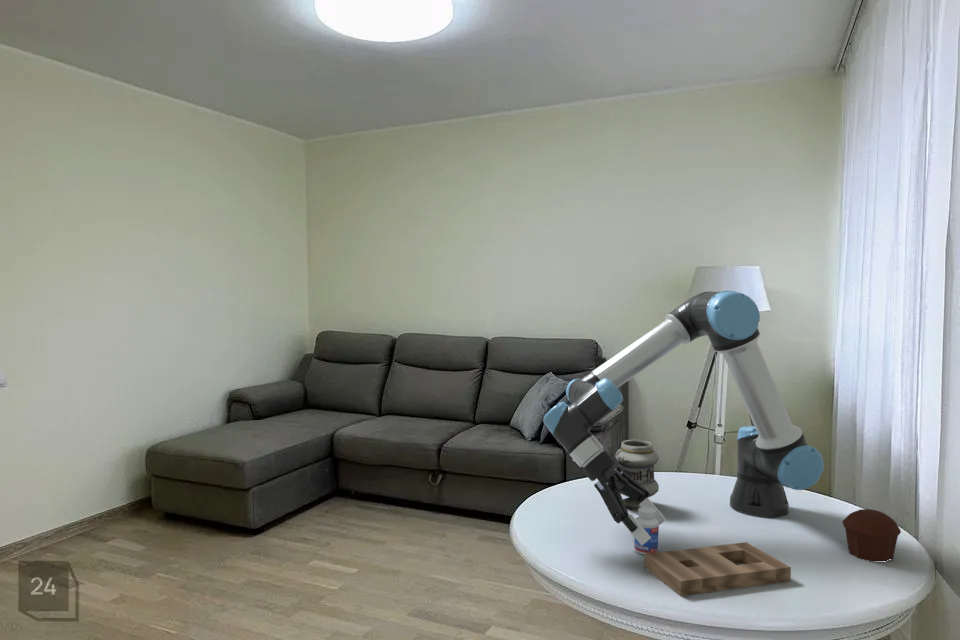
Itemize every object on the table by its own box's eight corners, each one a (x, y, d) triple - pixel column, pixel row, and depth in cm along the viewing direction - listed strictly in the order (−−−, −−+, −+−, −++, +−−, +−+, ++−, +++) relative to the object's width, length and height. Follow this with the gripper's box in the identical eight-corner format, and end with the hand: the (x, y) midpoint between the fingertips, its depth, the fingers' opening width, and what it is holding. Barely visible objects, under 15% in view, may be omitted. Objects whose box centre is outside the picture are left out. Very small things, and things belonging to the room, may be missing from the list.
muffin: (866, 566, 142) (868, 521, 142) (830, 547, 153) (831, 505, 153) (912, 562, 145) (914, 518, 144) (873, 543, 155) (874, 502, 155)
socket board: (746, 555, 148) (746, 542, 148) (790, 581, 135) (790, 567, 135) (644, 567, 141) (644, 553, 141) (680, 596, 128) (680, 581, 128)
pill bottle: (654, 557, 147) (654, 515, 146) (631, 552, 149) (631, 510, 149) (661, 549, 151) (661, 508, 151) (638, 544, 154) (639, 504, 154)
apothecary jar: (608, 507, 181) (609, 444, 180) (622, 496, 191) (623, 436, 191) (651, 515, 175) (651, 449, 174) (663, 503, 185) (664, 441, 184)
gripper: (599, 457, 168) (656, 524, 161) (562, 481, 147) (626, 559, 140) (619, 439, 165) (678, 507, 159) (585, 461, 144) (651, 540, 137)
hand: (654, 532), depth 149 cm, fingers open, 13 cm apart
